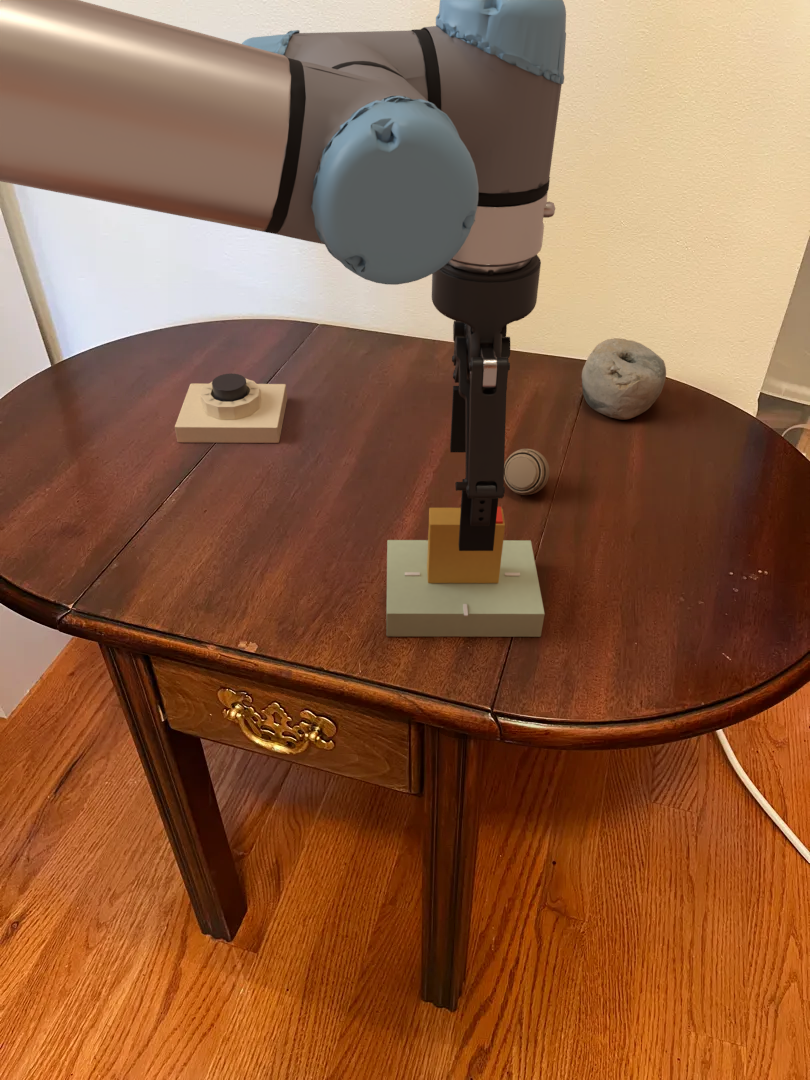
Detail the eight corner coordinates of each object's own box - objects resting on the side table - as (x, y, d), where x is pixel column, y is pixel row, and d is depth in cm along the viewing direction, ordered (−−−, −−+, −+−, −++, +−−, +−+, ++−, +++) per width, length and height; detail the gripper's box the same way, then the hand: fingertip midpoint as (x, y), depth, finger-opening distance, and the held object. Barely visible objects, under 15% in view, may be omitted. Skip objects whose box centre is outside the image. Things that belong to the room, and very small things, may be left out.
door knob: (496, 479, 94) (499, 442, 91) (538, 474, 95) (543, 437, 92) (508, 506, 90) (513, 468, 87) (552, 501, 91) (558, 463, 88)
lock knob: (427, 583, 77) (430, 522, 72) (426, 565, 78) (429, 505, 74) (498, 583, 77) (505, 522, 72) (496, 565, 79) (502, 505, 74)
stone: (551, 374, 104) (604, 309, 103) (586, 409, 112) (637, 350, 110) (604, 412, 98) (662, 343, 96) (638, 447, 105) (692, 384, 104)
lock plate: (386, 639, 75) (386, 615, 73) (387, 560, 84) (387, 536, 82) (541, 639, 76) (545, 615, 74) (527, 560, 84) (530, 536, 82)
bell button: (211, 403, 99) (209, 390, 98) (216, 385, 102) (214, 373, 101) (245, 403, 99) (243, 390, 98) (249, 386, 102) (248, 373, 101)
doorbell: (177, 442, 99) (171, 413, 96) (192, 398, 106) (188, 370, 104) (279, 443, 99) (276, 414, 96) (287, 398, 107) (284, 370, 104)
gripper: (569, 336, 48) (531, 598, 62) (520, 191, 67) (500, 416, 81) (439, 336, 48) (430, 598, 62) (427, 191, 67) (422, 416, 81)
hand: (470, 495), depth 72 cm, fingers open, 13 cm apart
